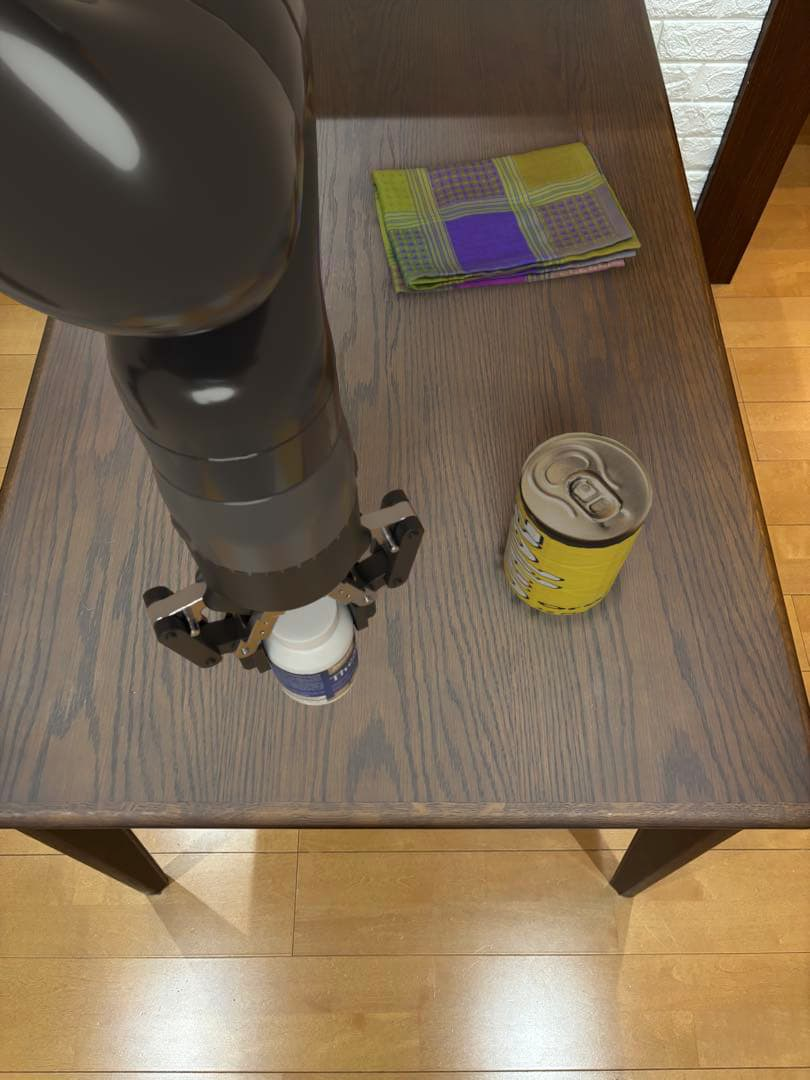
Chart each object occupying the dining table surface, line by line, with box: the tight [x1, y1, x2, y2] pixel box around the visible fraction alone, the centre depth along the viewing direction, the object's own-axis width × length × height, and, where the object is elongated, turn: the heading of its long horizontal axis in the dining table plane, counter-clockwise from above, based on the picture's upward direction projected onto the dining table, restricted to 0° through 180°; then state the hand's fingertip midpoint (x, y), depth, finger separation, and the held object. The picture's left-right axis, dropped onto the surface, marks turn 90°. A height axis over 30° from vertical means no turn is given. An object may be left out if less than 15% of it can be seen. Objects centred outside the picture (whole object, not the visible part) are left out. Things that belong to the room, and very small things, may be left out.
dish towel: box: [370, 141, 642, 296], centre depth 83 cm, size 18×24×3 cm
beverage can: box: [502, 431, 654, 616], centre depth 61 cm, size 9×9×12 cm
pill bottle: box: [260, 596, 359, 706], centre depth 49 cm, size 5×5×10 cm
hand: (308, 635), depth 48 cm, fingers closed on pill bottle, 5 cm apart
